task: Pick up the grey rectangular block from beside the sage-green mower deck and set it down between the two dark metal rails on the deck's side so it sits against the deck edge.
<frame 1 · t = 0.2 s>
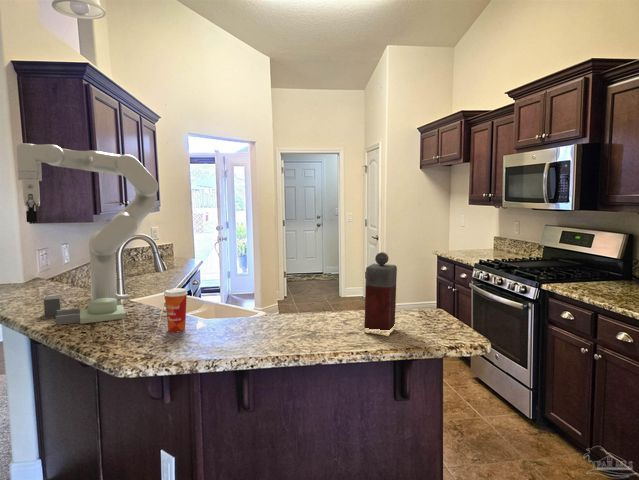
hand: (31, 221, 160), 36 cm above the table, tool pointing down, fingers open, 9 cm apart
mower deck: (95, 316, 158), on the table
grey rectangular block: (53, 315, 159), on the table
square decanter: (380, 330, 147), on the table
paper cup: (176, 330, 144), on the table
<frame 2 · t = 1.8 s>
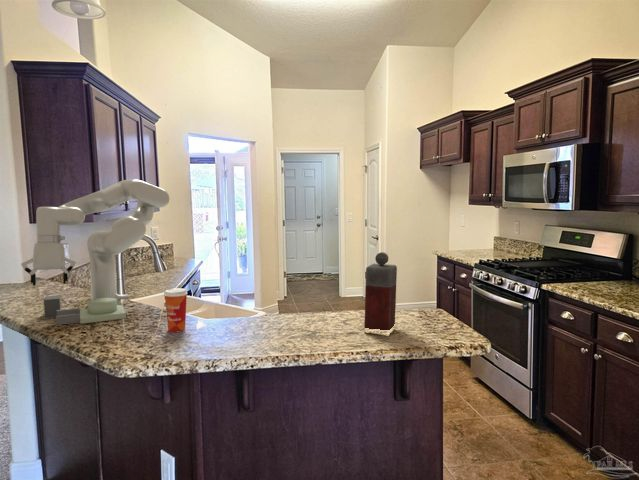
hand: (49, 284, 158), 12 cm above the table, tool pointing down, fingers open, 9 cm apart
nothing on the table moved.
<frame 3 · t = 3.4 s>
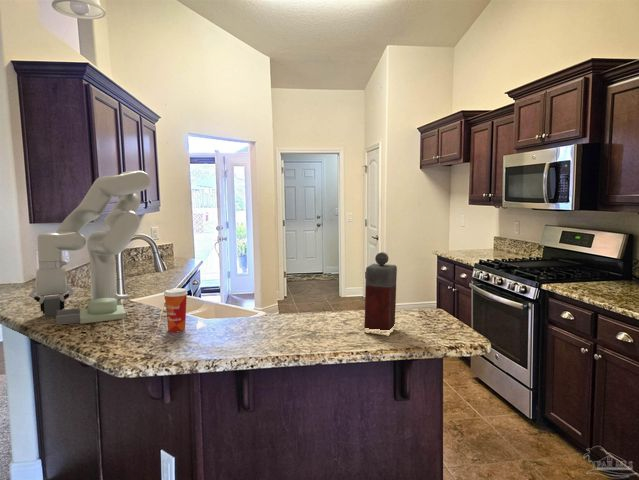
hand: (52, 311, 159), 1 cm above the table, tool pointing down, fingers closed on grey rectangular block, 5 cm apart
grey rectangular block: (53, 315, 159), on the table, touching gripper
everything else where it was.
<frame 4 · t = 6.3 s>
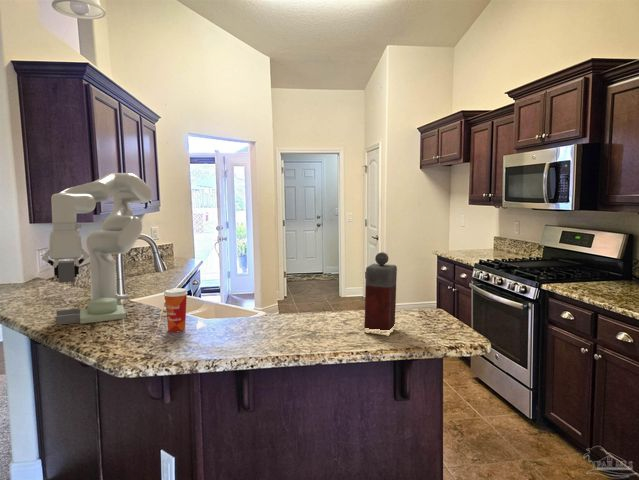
hand: (66, 276, 152), 16 cm above the table, tool pointing down, fingers closed on grey rectangular block, 5 cm apart
grey rectangular block: (67, 280, 152), point 15 cm above the table, touching gripper
everything else where it was.
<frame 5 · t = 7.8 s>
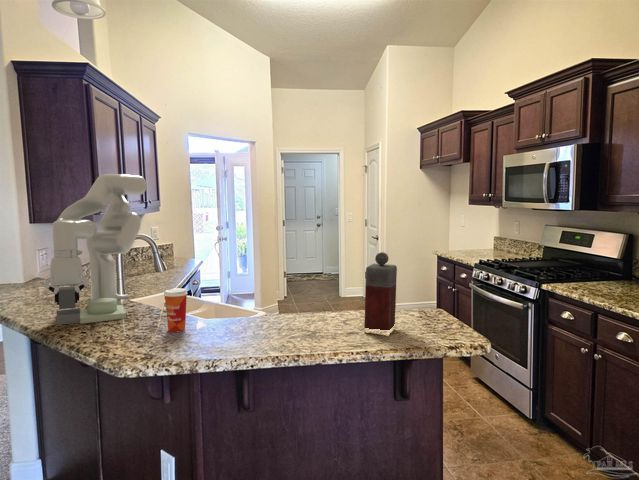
hand: (67, 302, 152), 7 cm above the table, tool pointing down, fingers closed on grey rectangular block, 5 cm apart
grey rectangular block: (67, 306, 152), point 5 cm above the table, touching gripper
everything else where it was.
when the fingers open (2 cm above the table, at t = 9.1 s): grey rectangular block stays where it is, on the table.
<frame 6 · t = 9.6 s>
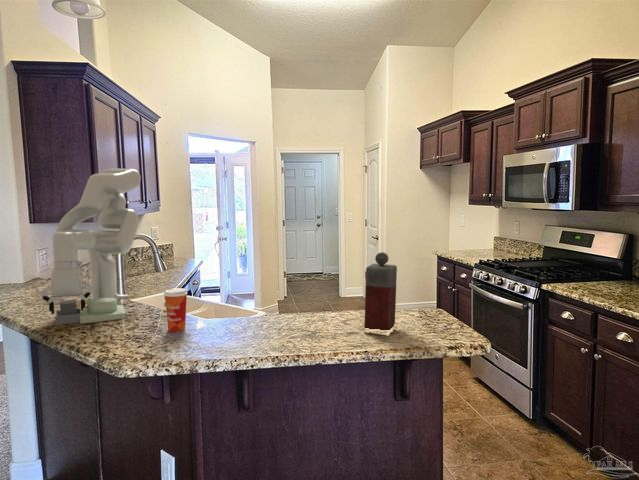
hand: (67, 311, 153), 3 cm above the table, tool pointing down, fingers open, 8 cm apart
grey rectangular block: (69, 320, 153), on the table
everything else where it was.
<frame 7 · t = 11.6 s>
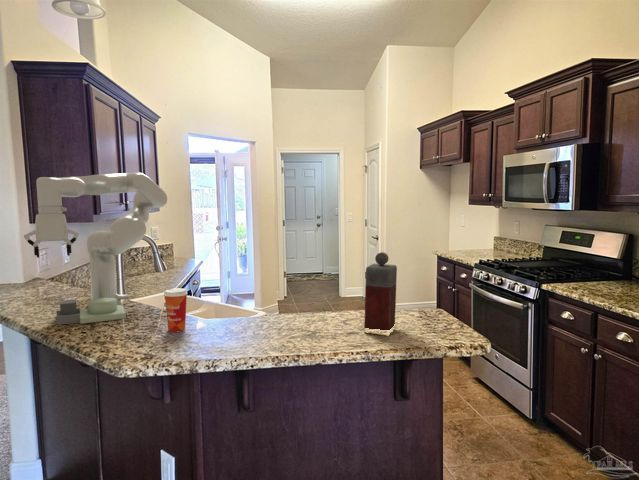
hand: (53, 256, 156), 23 cm above the table, tool pointing down, fingers open, 9 cm apart
nothing on the table moved.
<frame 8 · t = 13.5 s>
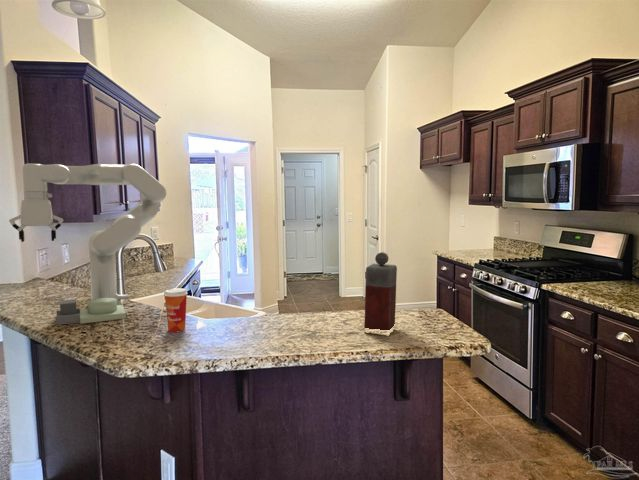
hand: (38, 241, 160), 28 cm above the table, tool pointing down, fingers open, 9 cm apart
nothing on the table moved.
at the end: grey rectangular block 0.3 cm from the target spot, on the table; grey rectangular block tilted 0°; the gripper is holding nothing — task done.
